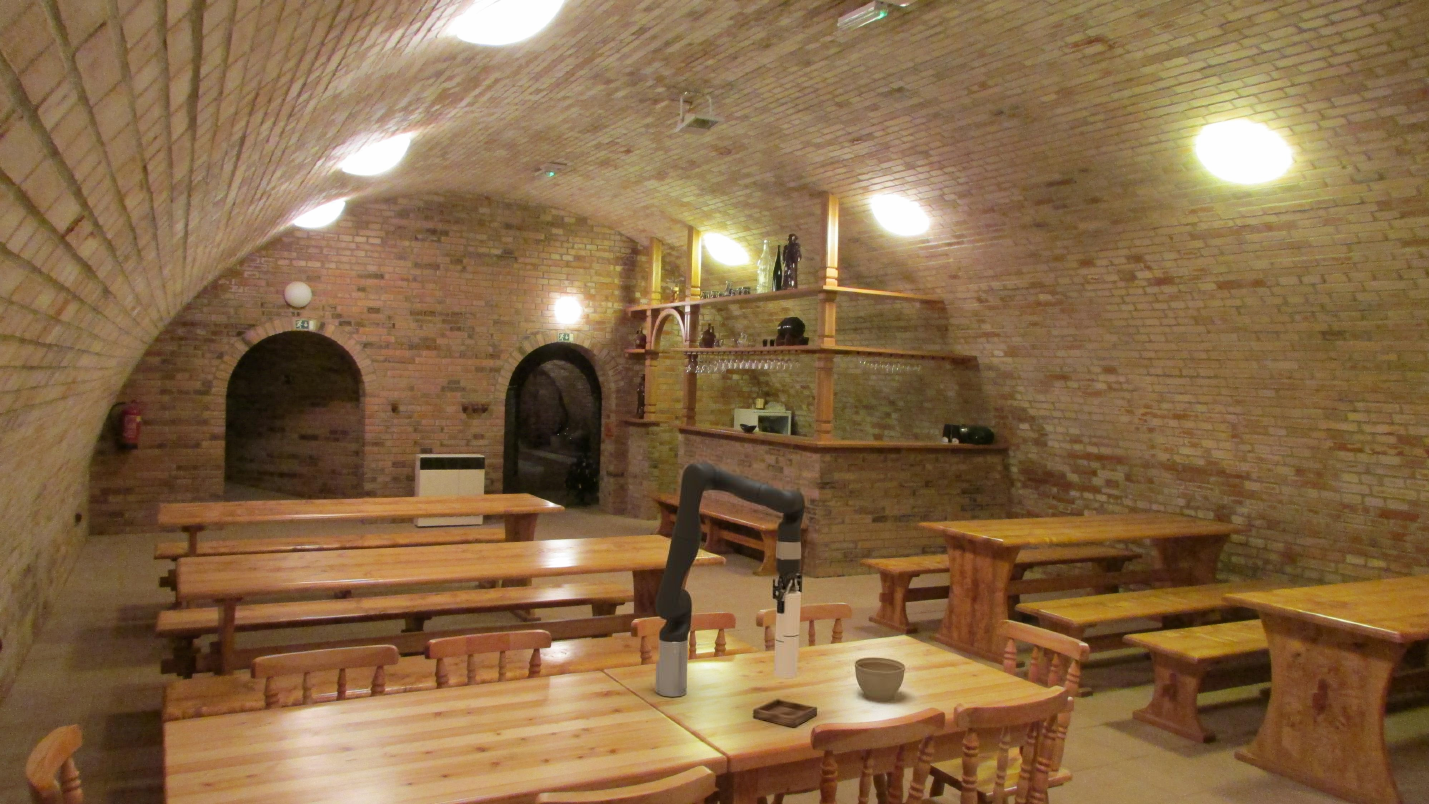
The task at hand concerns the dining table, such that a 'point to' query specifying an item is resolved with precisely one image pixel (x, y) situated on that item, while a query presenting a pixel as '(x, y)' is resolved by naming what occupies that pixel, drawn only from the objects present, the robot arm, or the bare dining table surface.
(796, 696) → the dining table surface
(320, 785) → the dining table surface
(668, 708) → the dining table surface
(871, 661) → the planter bowl
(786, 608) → the cylindrical container
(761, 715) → the walnut tray
